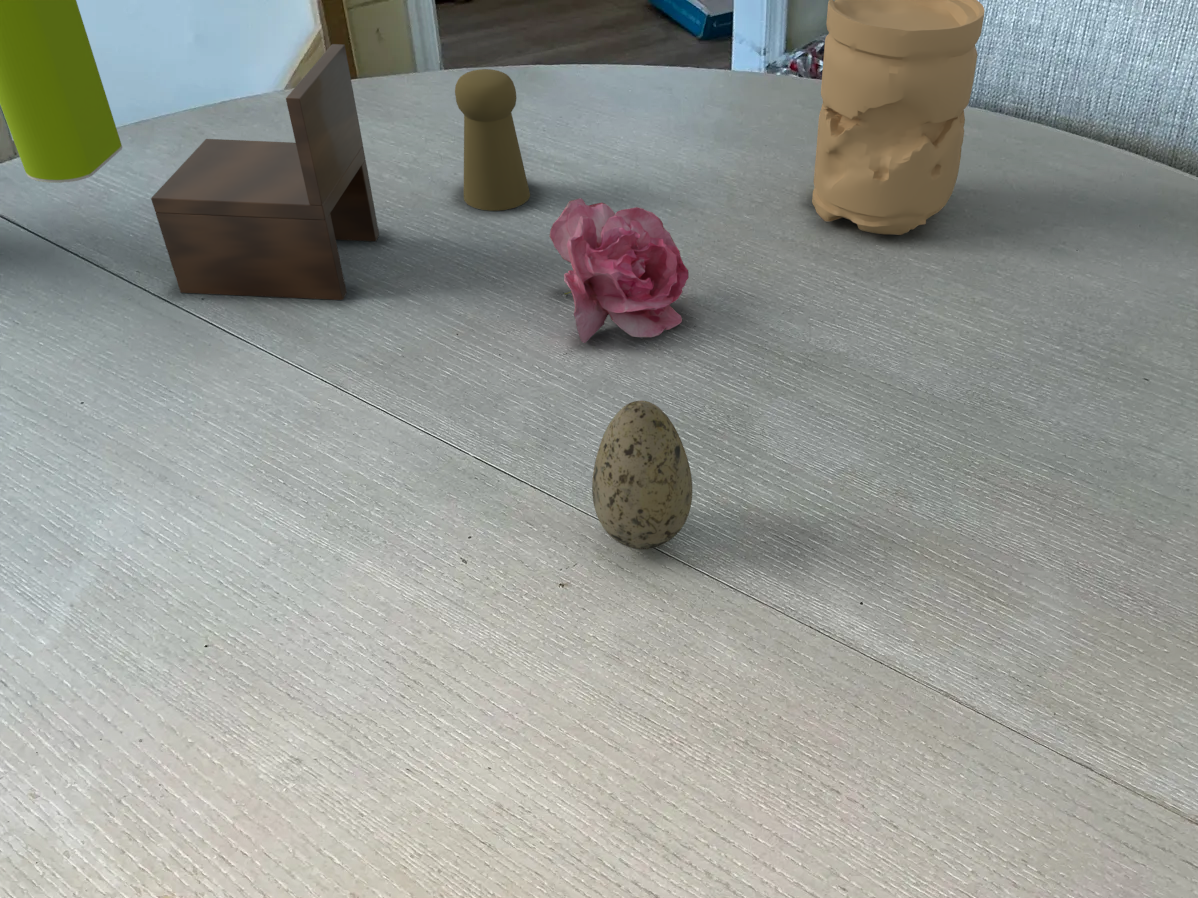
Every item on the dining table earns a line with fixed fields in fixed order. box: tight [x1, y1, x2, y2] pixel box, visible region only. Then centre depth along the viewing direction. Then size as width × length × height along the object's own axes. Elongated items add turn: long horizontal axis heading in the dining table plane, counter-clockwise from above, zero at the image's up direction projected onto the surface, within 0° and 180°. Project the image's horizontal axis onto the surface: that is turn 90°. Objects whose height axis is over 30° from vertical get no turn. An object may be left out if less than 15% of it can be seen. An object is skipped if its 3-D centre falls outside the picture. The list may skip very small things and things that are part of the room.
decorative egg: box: [591, 400, 693, 550], centre depth 69 cm, size 6×6×10 cm
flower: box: [549, 197, 690, 344], centre depth 90 cm, size 11×10×10 cm
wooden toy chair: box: [150, 43, 380, 301], centre depth 92 cm, size 13×11×16 cm
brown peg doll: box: [454, 68, 531, 212], centre depth 104 cm, size 6×6×11 cm
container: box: [811, 0, 985, 236], centre depth 101 cm, size 13×13×18 cm
